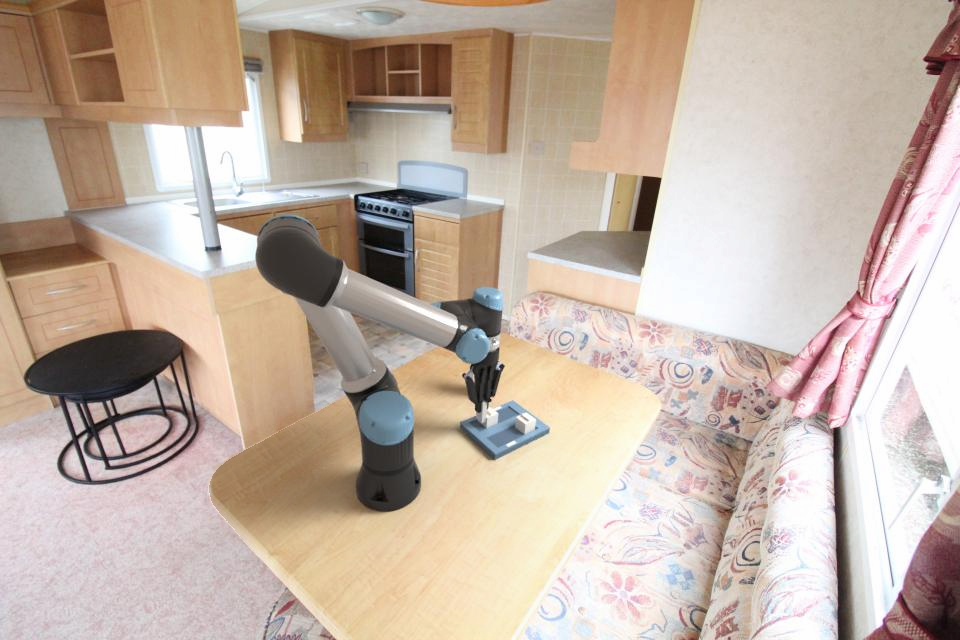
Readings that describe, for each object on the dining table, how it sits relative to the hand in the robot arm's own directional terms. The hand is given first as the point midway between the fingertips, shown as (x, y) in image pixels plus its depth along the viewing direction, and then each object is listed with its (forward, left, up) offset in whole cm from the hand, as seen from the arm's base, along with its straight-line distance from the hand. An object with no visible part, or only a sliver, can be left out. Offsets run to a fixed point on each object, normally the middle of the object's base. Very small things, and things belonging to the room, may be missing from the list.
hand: (480, 419), depth 130 cm
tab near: (+10, -8, -2) cm, 13 cm away
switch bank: (+6, -4, -4) cm, 8 cm away
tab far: (+3, 0, -2) cm, 3 cm away
